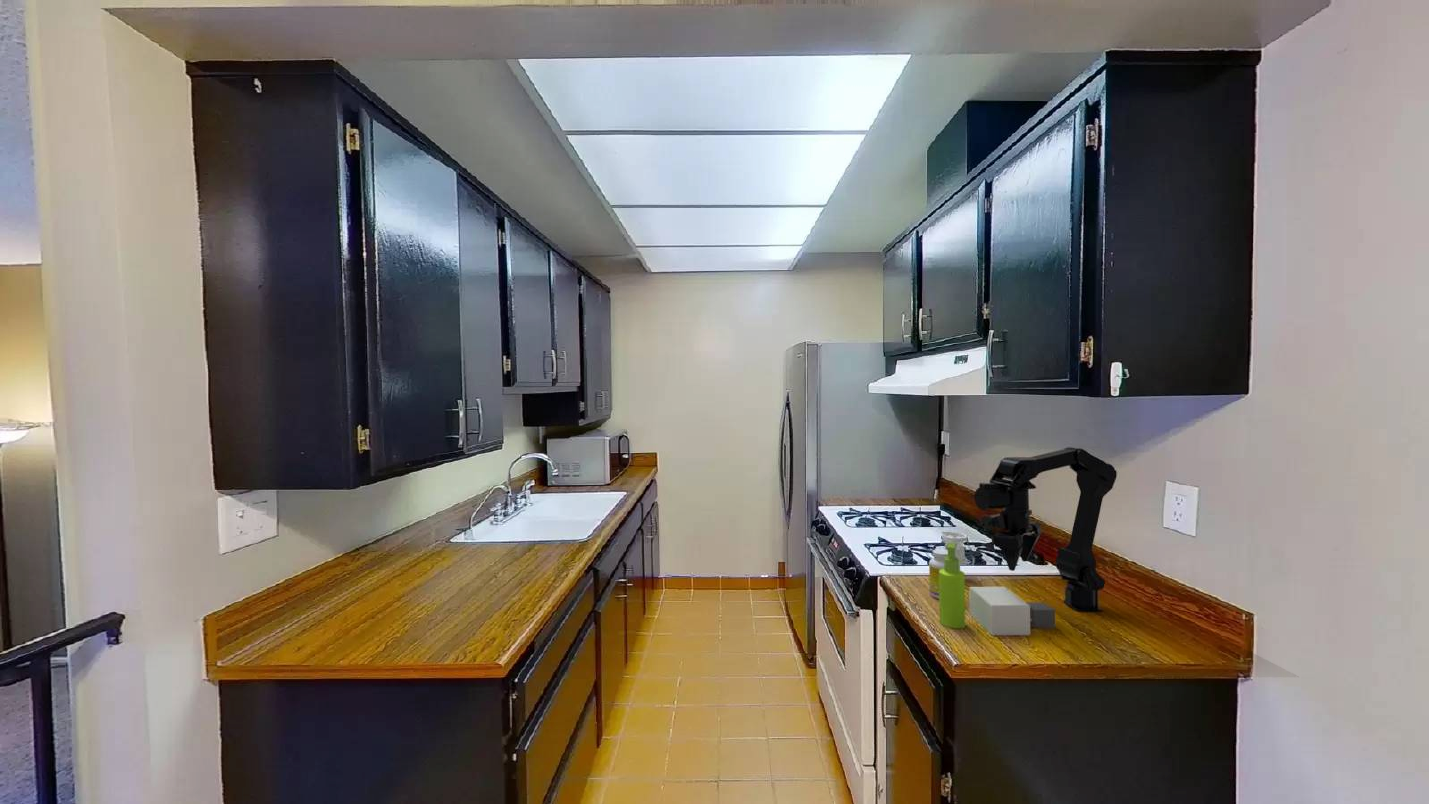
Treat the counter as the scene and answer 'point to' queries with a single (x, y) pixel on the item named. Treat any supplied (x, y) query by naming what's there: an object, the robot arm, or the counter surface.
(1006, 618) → the light grey rectangular block
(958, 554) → the white tall piece
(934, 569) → the supplement bottle
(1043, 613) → the plug
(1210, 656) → the counter surface
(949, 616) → the soap dispenser
